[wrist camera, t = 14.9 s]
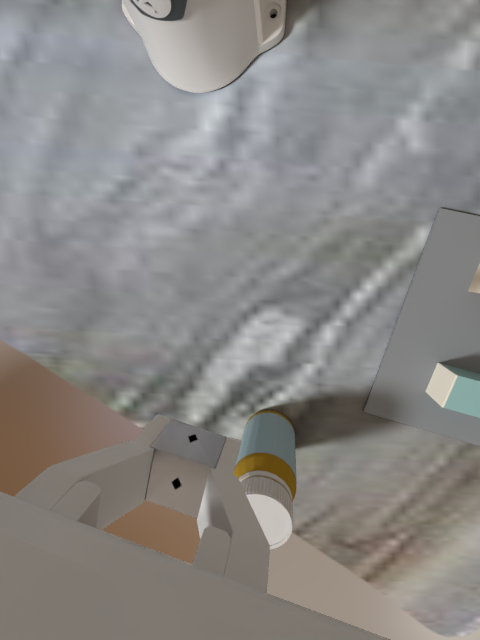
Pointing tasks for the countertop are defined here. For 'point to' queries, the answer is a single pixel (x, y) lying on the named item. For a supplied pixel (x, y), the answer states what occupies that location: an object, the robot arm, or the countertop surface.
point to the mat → (434, 331)
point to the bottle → (269, 473)
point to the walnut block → (475, 282)
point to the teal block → (455, 389)
